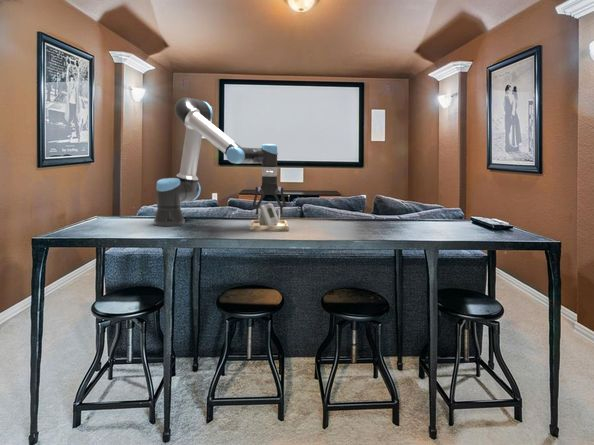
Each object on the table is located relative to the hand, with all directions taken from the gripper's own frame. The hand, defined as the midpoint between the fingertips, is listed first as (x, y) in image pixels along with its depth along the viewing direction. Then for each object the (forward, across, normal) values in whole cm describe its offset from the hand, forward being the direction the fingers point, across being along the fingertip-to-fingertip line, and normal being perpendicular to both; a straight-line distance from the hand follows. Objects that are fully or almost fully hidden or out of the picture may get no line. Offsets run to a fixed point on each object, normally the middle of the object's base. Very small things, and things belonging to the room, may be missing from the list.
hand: (269, 221), depth 217 cm
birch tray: (+4, 0, 0) cm, 4 cm away
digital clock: (+2, 0, 0) cm, 2 cm away
